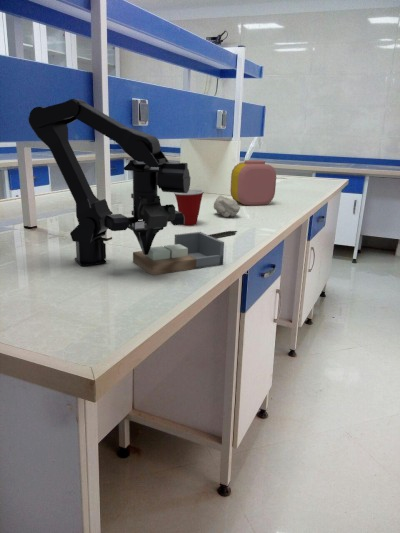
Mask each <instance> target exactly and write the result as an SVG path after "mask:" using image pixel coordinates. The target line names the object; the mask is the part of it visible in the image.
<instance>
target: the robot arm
mask: <svg viewBox="0 0 400 533" xmlns="http://www.w3.org/2000/svg"><path fill="white" fill-rule="evenodd" d="M27 120H28V124H29V126H30V128H31V129H32V130H33V132H34V134H35V135H36V136H37V138H38V139H39V140H41V142H42V143H44V144H45V146H47V147H48V148H49V151H50V152H51V154H52V157H53V159H54V161H55V163H56V165H57V167H58V169H59V171H60V173H61V175H62V177H63V179H64V182H65V183H66V186H67V188H68V190H69V191H70V194H71V196H72V198H73V200H74V202H75V216H76V219H77V222H78V224H77V226H76V227H74V229H73V230H72V231H70V234H69V235H70V238H71V241H73V242H75V255H76V257H74V261H76V263H77V264H78V265H80V266H81V267H86V266H87V267H88V266H95V265H102V264H103V265H104V264H107V260H106V259H107V249H106V248H107V247H106V242H104V238H103V237H104V236H106V233H107V232H108V231H107V230H109V231H111V232H120V231H127V229H129V230H131V231H132V232H133V234H134V236H135V238H136V240H137V241H138V244H139V246H140V249H141V251H142V252H143V254H144V255H148V253H149V251H150V248H151V247H152V245H153V242H154V239H155V237H156V235H157V234H158V233H159V232H160V231H163V230H164V228H166V227H168V222H170V223H171V224H172V226H185V225H184V224H185V217H184V214H183V213H181V212H179V211H178V210H176V206H175V205H174V204H164V205H162V204H161V198H160V195H158V189H161V191H162V192H163V193H173V194H174V193H188V191H189V190H190V187H191V175H190V169H189V168H188V167H189V166H188V162H178V163H177V162H176V163H175V162H170V161H169V160H168V158H167V157H166V156H165V154H164V153H163V151H162V149H161V144H160V140H159V139H158V138H157V137H156V136H154V135H152V134H149V133H147V132H143V131H140V130H137V129H135V128H134V129H133V128H131V127H129V126H126V125H124V124H123V123H120V122H119V121H117V120H116V119H114V118H112V117H111V116H109V115H107V114H105V113H104V112H102V111H100V110H99V109H97V108H95V107H94V106H92V105H90V104H89V103H87V102H86V101H85V100H84V99H78V98H71V99H68V100H66V101H63V102H60V103H57V104H52V105H49V106H36V107H33V108H32V109H31V111H30V112H29V115H28V119H27ZM75 121H79V122H81V123H83V124H84V125H86V126H88V127H90V128H91V129H93V130H95V131H96V132H98V133H99V134H101V135H103V136H105V137H107V138H108V139H109V140H111V141H113V142H115V143H116V144H117V145H119V147H120V148H121V149H122V151H123V152H124V153H126V154H127V155H128V156H130V158H131V160H129V162H128V163H127V164H126V165H125V166H124V167H123V170H124V171H129V172H130V171H131V172H132V193H130V196H131V197H130V198H131V199H132V210H131V216H128V217H127V216H125V215H124V214H121V213H113V211H112V210H111V209H110V208H109V205H108V202H107V200H106V198H104V199H99V198H98V197H97V196H96V195H95V194H94V192H93V190H92V188H91V186H90V184H89V182H88V180H87V177H86V175H85V173H84V171H83V169H82V166H81V165H80V162H79V161H78V158H77V156H76V154H75V153H74V150H73V147H72V146H71V144H70V142H69V126H68V125H69V124H71V123H74V122H75Z"/></svg>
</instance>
